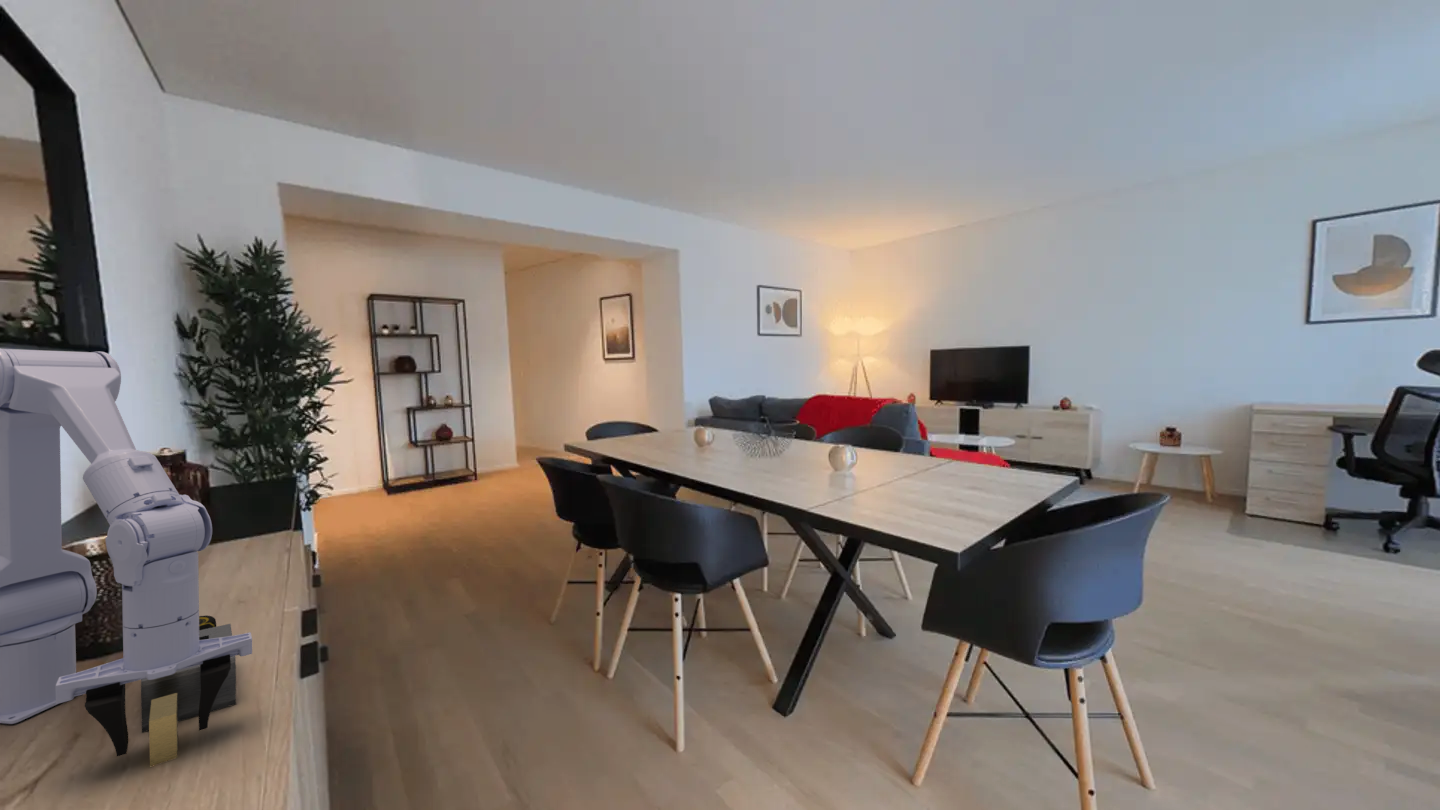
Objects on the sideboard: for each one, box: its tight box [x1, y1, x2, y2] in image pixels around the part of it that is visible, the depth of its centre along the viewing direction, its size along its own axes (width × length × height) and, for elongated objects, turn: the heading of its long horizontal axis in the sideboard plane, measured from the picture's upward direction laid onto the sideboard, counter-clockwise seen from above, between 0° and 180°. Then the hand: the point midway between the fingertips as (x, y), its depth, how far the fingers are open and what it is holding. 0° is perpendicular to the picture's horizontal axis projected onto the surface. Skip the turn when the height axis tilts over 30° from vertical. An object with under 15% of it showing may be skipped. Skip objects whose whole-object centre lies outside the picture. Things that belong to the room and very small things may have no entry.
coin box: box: [140, 623, 237, 733], centre depth 68 cm, size 12×8×6 cm, turn 45°
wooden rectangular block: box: [148, 693, 179, 767], centre depth 58 cm, size 5×2×5 cm, turn 45°
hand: (164, 737), depth 58 cm, fingers open, 5 cm apart
